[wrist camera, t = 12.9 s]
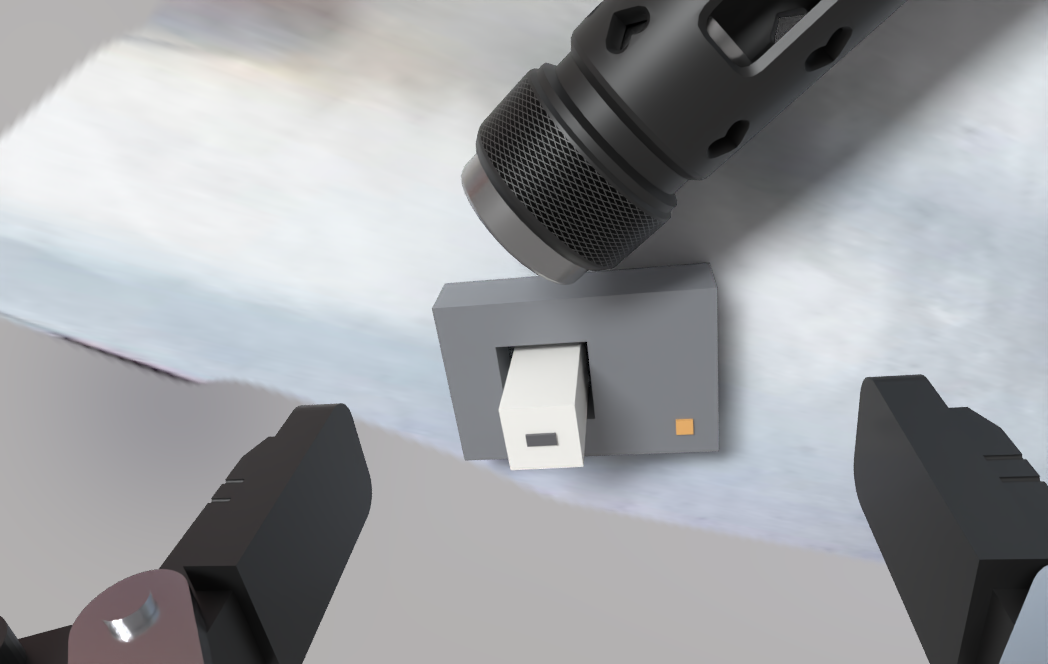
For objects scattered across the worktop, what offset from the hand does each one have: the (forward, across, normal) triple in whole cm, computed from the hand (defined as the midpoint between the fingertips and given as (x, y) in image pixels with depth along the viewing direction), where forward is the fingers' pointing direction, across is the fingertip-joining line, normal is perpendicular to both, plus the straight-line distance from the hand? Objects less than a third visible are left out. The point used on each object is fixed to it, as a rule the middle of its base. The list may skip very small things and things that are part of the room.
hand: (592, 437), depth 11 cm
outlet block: (+30, +3, +15) cm, 34 cm away
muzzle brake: (+30, -6, -4) cm, 31 cm away
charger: (+30, +5, +15) cm, 34 cm away
